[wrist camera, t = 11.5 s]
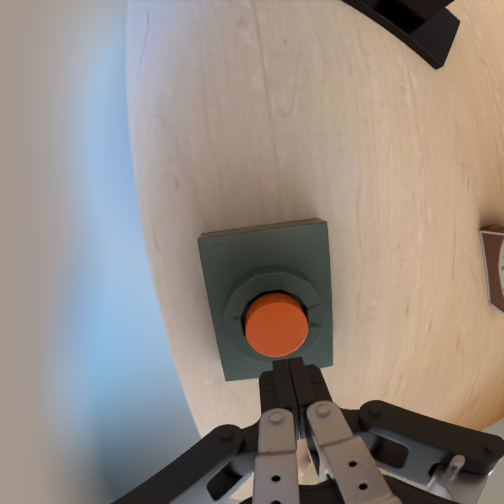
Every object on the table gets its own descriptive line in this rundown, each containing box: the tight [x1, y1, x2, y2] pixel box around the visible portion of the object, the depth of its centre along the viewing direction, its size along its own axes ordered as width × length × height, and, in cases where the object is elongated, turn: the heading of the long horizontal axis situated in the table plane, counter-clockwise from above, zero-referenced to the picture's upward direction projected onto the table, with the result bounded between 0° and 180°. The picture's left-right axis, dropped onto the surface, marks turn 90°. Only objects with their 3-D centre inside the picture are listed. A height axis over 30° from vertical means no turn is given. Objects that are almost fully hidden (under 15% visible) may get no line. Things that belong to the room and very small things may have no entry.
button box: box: [198, 218, 333, 381], centre depth 21 cm, size 12×9×4 cm
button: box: [245, 293, 308, 357], centre depth 19 cm, size 4×4×2 cm
